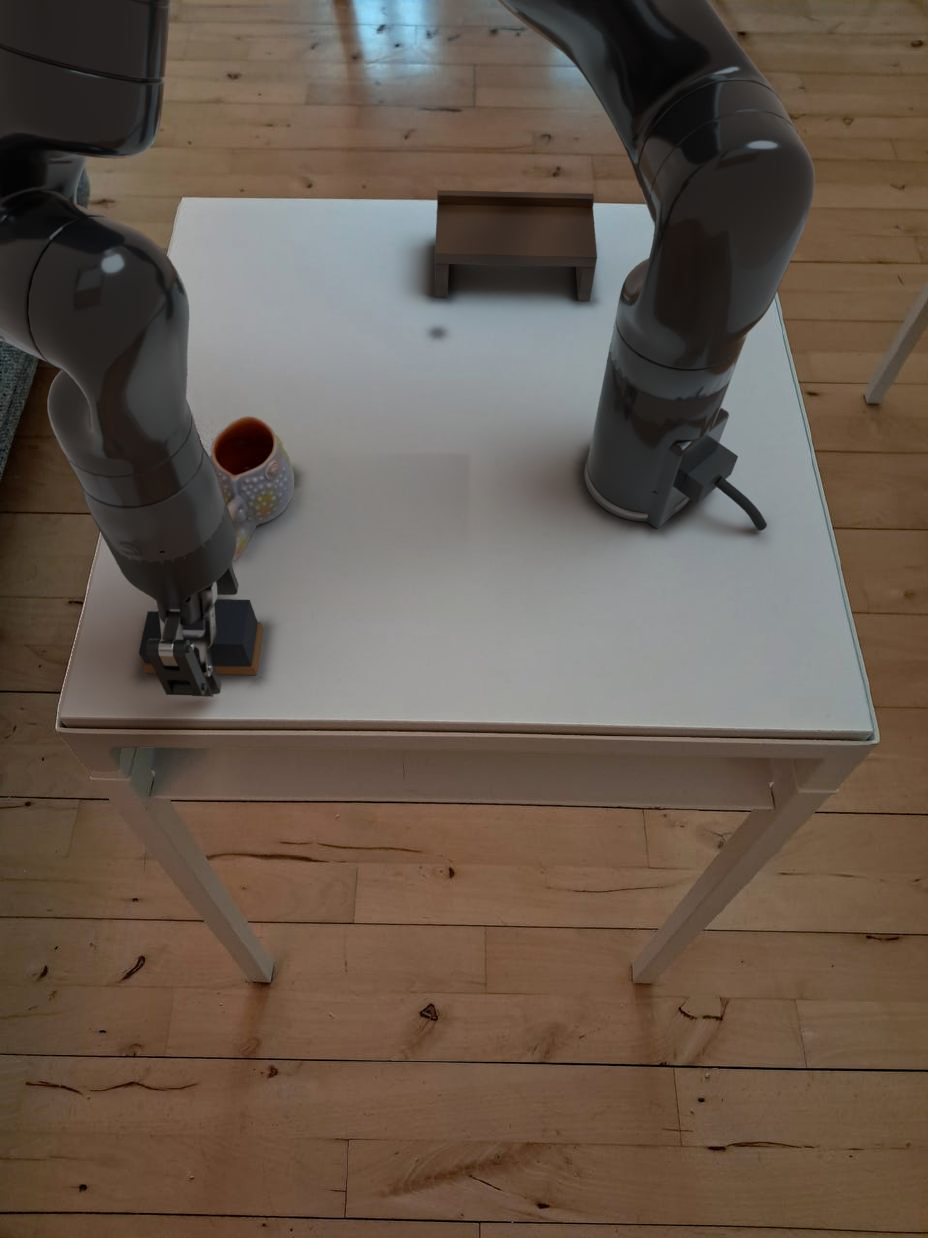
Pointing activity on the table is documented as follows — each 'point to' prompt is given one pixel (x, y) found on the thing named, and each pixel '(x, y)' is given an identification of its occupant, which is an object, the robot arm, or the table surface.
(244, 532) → the mug
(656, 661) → the table surface
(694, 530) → the table surface
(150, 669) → the stepped blocks on board
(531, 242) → the shoe shelf
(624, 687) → the table surface
